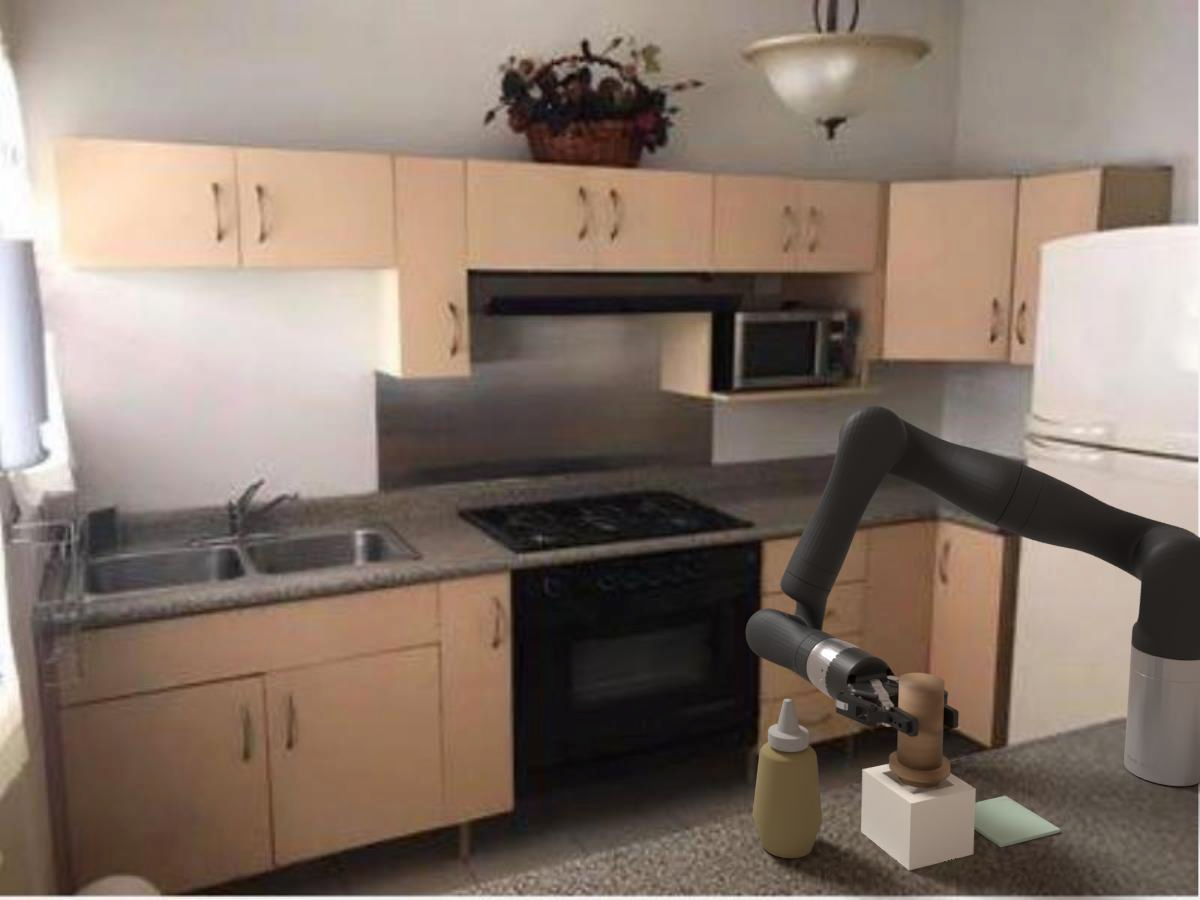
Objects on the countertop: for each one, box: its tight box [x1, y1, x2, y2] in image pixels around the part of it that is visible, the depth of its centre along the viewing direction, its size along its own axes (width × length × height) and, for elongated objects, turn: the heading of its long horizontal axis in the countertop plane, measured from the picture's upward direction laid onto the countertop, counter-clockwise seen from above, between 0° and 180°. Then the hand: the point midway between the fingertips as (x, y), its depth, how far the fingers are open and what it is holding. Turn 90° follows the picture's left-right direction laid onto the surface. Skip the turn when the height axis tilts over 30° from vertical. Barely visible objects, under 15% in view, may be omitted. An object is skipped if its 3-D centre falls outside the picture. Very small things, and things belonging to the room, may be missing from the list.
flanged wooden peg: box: [888, 672, 951, 788], centre depth 114 cm, size 7×7×12 cm
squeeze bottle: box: [752, 698, 823, 859], centre depth 115 cm, size 8×8×18 cm
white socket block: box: [860, 763, 977, 871], centre depth 116 cm, size 9×9×8 cm
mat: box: [974, 795, 1061, 848], centre depth 121 cm, size 9×9×1 cm
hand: (935, 724), depth 112 cm, fingers closed on flanged wooden peg, 5 cm apart
